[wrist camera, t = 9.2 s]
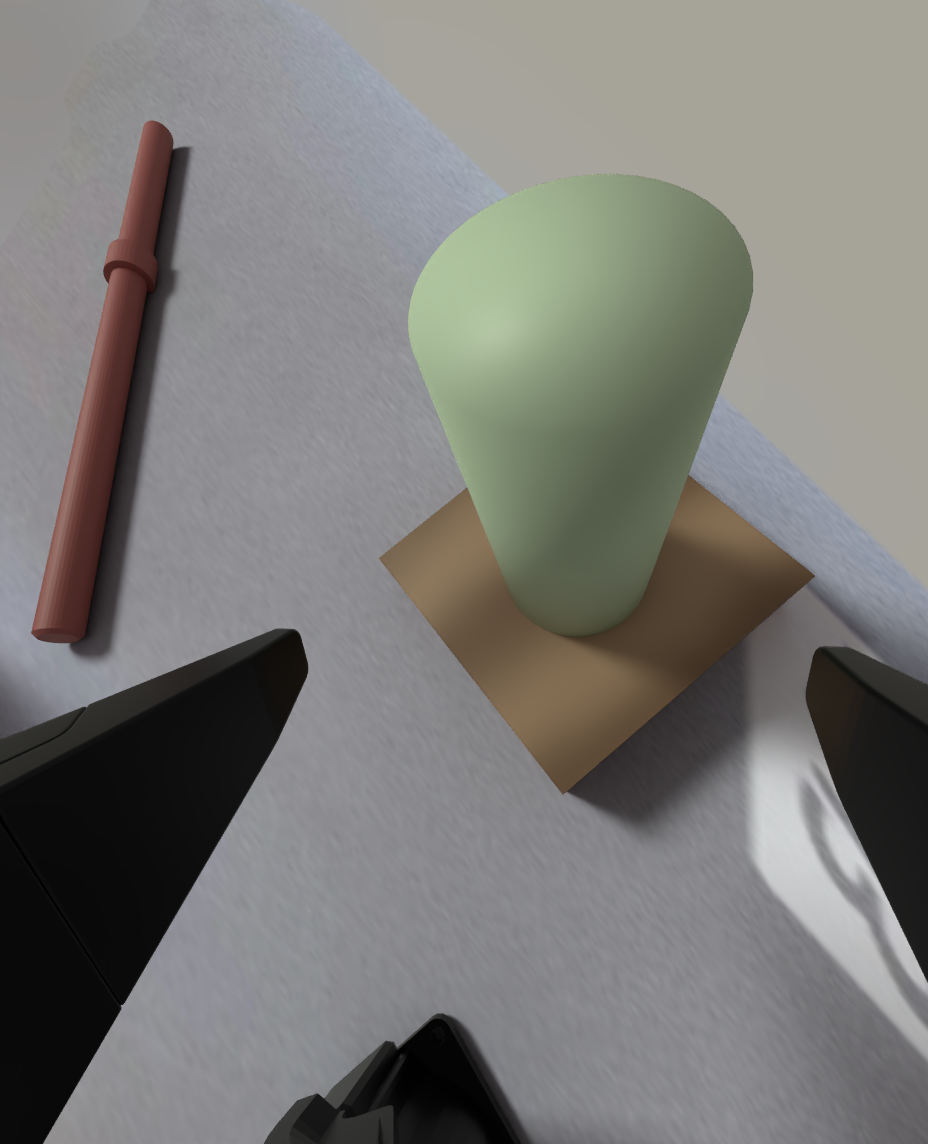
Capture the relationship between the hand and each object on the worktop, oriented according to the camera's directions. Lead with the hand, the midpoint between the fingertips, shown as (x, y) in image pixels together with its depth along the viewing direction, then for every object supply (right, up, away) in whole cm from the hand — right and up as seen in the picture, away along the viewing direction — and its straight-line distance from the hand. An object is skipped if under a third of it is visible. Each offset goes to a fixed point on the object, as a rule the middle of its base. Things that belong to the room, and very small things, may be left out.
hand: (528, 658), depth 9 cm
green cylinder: (+3, +2, +11) cm, 12 cm away
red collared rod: (-25, +18, +28) cm, 42 cm away
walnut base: (+4, +1, +14) cm, 15 cm away
